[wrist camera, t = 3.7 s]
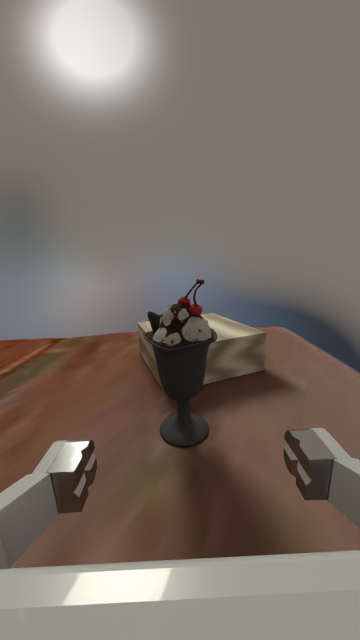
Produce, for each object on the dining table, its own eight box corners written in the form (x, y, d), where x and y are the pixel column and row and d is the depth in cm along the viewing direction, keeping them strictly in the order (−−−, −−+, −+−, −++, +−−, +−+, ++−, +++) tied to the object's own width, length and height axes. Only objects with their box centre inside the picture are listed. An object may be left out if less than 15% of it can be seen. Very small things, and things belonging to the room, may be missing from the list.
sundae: (231, 436, 22) (233, 278, 19) (168, 465, 19) (157, 285, 16) (195, 402, 28) (192, 276, 24) (142, 420, 25) (130, 280, 21)
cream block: (164, 393, 30) (161, 350, 29) (140, 352, 45) (137, 322, 43) (264, 370, 35) (265, 332, 34) (213, 340, 50) (213, 313, 49)
